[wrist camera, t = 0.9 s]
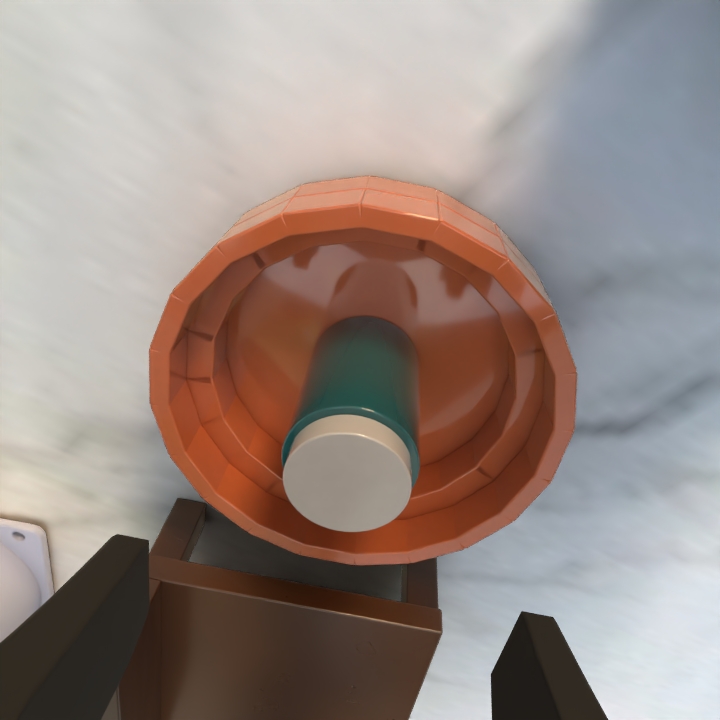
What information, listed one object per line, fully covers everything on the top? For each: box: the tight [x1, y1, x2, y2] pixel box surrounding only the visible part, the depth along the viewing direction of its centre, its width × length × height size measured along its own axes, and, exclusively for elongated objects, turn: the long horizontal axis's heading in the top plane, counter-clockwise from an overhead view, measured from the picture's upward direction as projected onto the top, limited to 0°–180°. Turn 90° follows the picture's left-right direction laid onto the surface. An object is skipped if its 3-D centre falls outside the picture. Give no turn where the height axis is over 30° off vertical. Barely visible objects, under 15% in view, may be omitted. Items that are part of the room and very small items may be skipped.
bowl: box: [149, 176, 577, 565], centre depth 18 cm, size 12×12×4 cm
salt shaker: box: [281, 316, 420, 532], centre depth 17 cm, size 4×4×6 cm
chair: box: [101, 499, 443, 720], centre depth 23 cm, size 11×11×8 cm
